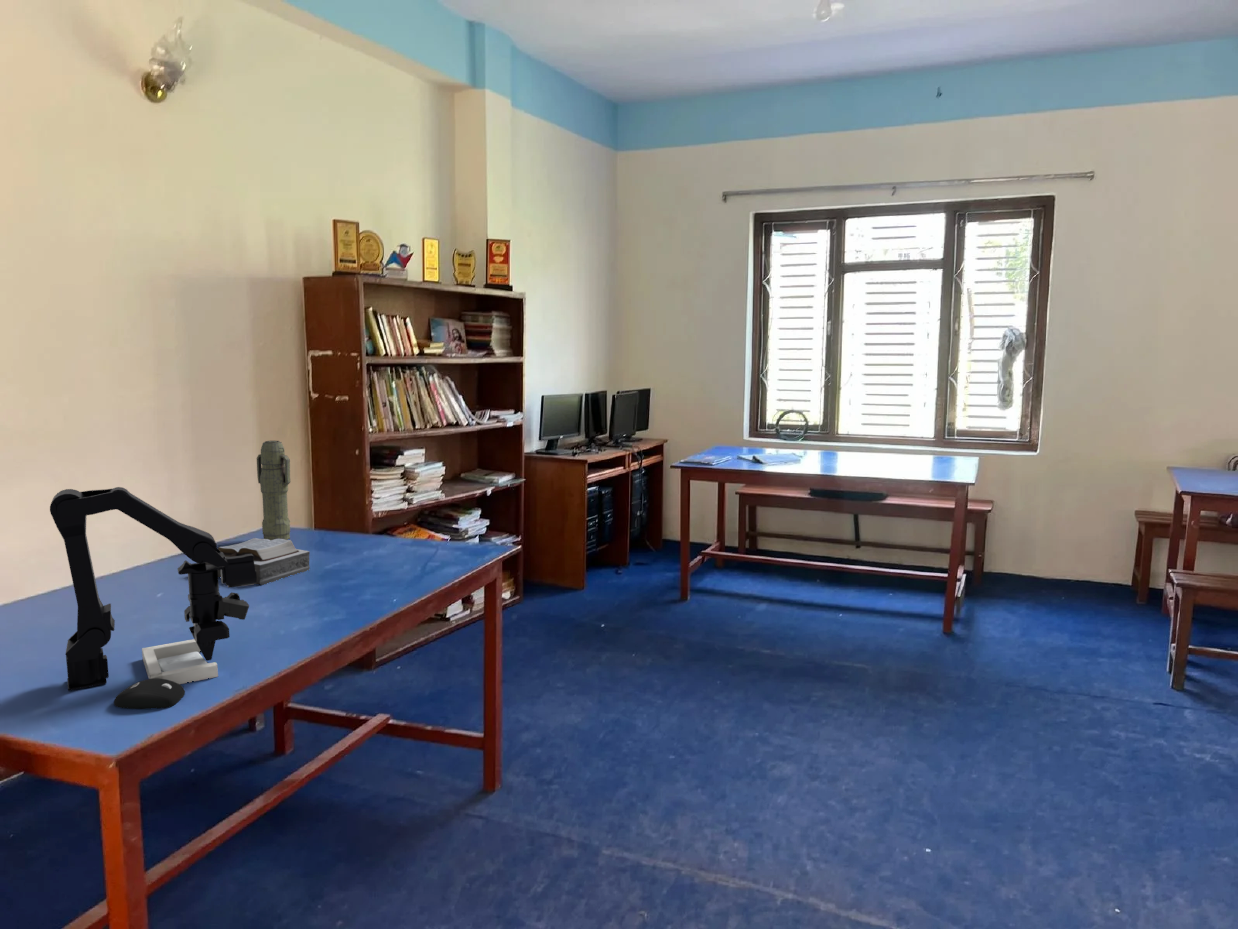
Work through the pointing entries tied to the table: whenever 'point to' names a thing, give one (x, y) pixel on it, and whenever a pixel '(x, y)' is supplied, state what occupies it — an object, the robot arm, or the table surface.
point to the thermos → (274, 489)
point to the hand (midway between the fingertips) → (208, 659)
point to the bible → (270, 558)
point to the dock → (177, 675)
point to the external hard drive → (181, 661)
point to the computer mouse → (150, 694)
